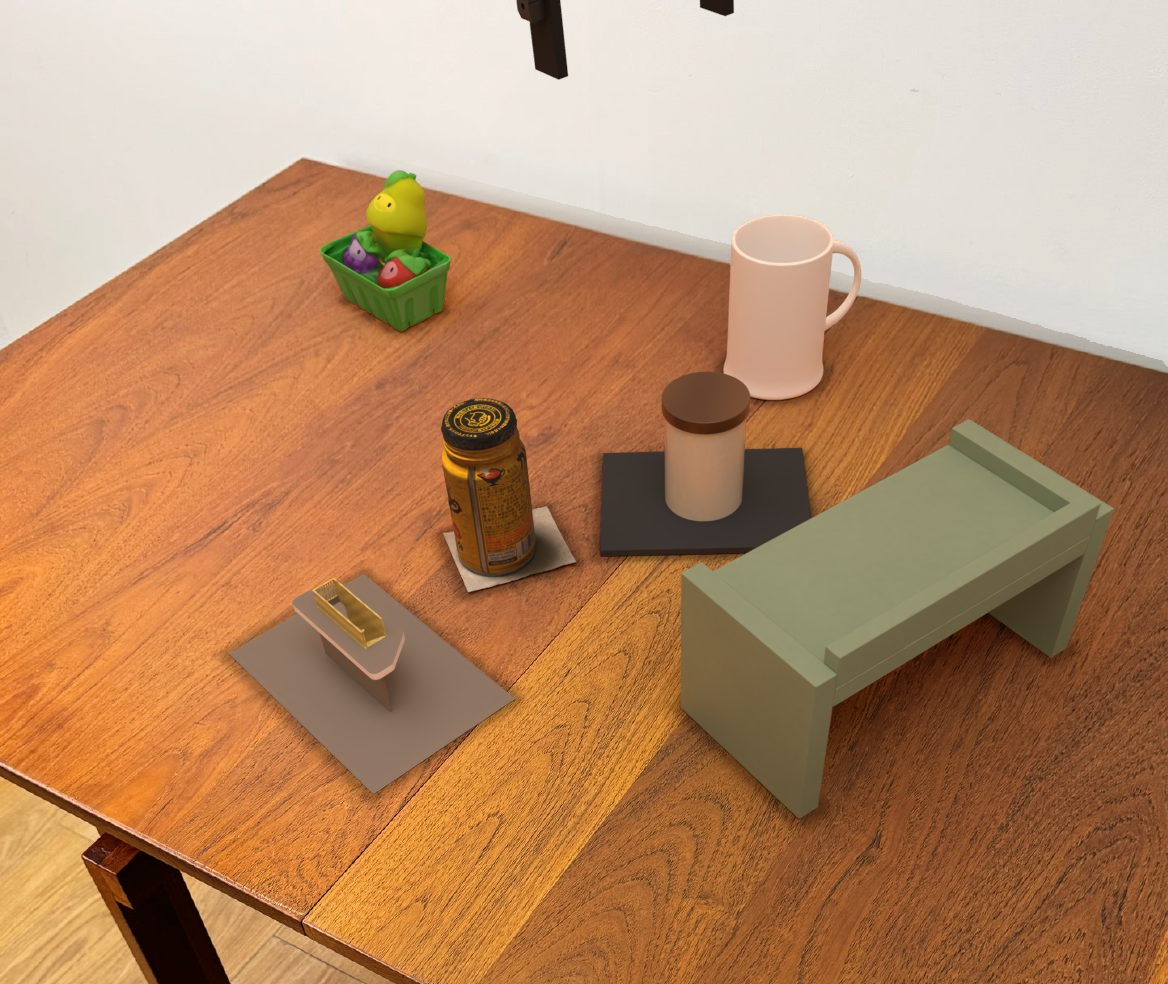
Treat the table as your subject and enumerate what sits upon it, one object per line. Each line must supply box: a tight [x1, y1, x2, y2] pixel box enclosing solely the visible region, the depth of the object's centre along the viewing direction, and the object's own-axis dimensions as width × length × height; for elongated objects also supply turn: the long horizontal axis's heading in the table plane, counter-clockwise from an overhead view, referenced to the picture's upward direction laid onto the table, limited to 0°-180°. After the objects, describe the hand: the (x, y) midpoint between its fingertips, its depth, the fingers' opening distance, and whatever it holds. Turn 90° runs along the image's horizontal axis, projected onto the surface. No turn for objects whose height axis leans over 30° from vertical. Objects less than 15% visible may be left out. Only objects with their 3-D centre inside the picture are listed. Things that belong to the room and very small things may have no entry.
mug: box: [723, 213, 862, 401], centre depth 104 cm, size 12×8×12 cm
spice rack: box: [679, 418, 1115, 820], centre depth 80 cm, size 24×12×13 cm, turn 125°
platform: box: [228, 573, 516, 795], centre depth 86 cm, size 12×18×7 cm, turn 42°
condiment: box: [440, 397, 577, 593], centre depth 91 cm, size 7×8×12 cm
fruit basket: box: [318, 169, 452, 333], centre depth 115 cm, size 11×9×11 cm
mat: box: [599, 447, 812, 557], centre depth 98 cm, size 16×12×1 cm
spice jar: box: [660, 371, 751, 521], centre depth 94 cm, size 6×6×9 cm
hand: (636, 41), depth 83 cm, fingers open, 13 cm apart
